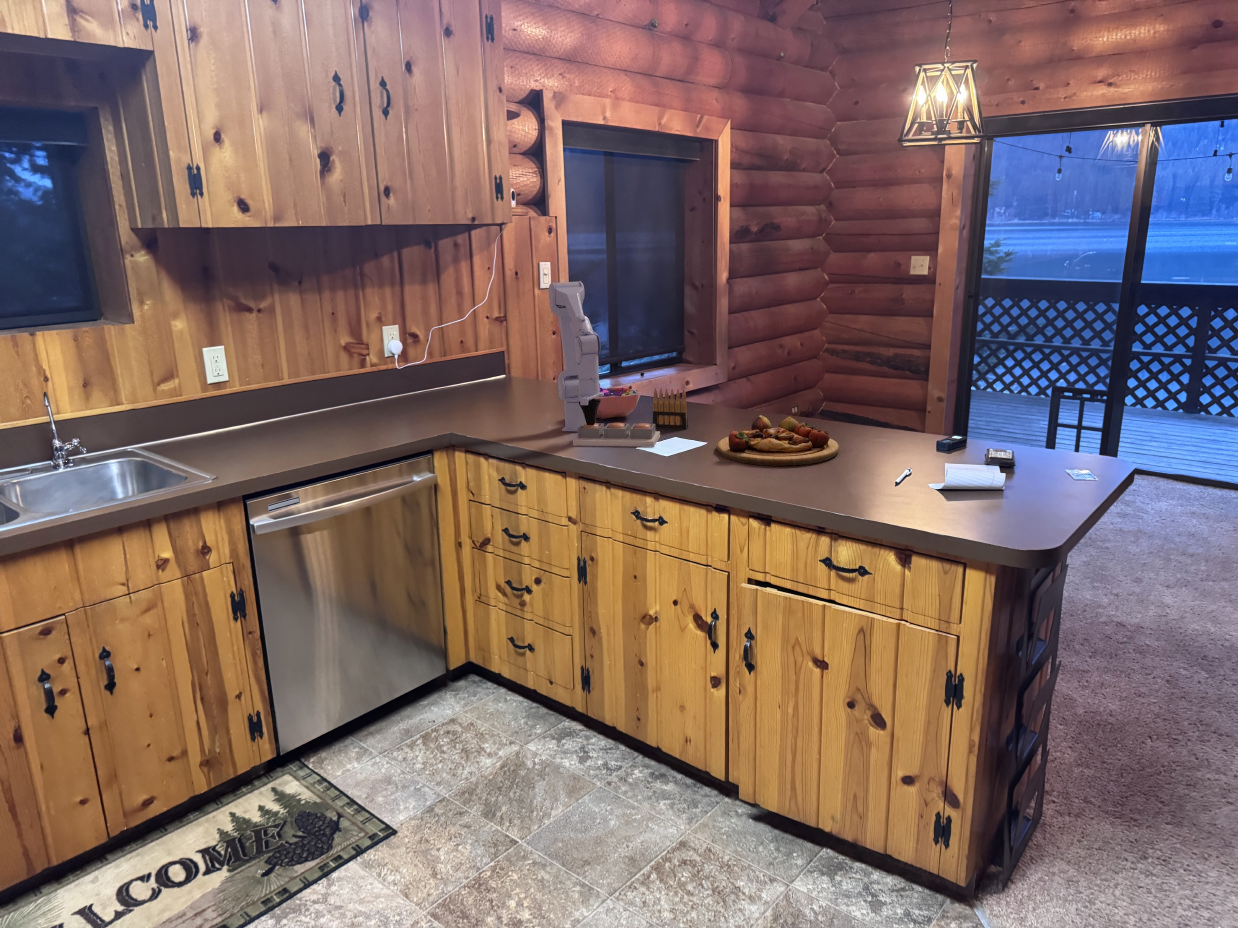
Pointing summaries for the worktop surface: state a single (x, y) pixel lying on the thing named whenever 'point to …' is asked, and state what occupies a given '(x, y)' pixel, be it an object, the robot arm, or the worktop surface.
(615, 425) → the centre knob
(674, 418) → the ammunition clip
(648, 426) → the knob
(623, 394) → the cell model
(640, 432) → the plate
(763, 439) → the wooden plate with food
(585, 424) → the end knob
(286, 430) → the worktop surface
